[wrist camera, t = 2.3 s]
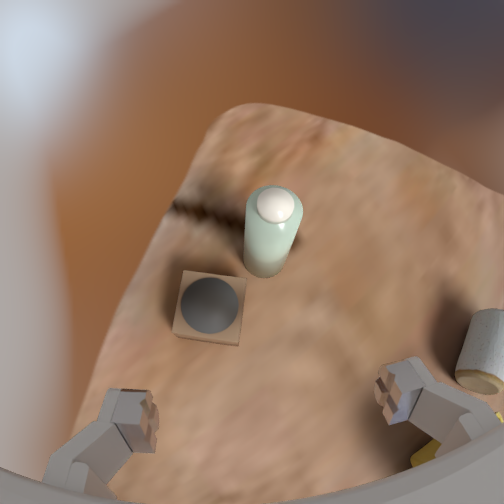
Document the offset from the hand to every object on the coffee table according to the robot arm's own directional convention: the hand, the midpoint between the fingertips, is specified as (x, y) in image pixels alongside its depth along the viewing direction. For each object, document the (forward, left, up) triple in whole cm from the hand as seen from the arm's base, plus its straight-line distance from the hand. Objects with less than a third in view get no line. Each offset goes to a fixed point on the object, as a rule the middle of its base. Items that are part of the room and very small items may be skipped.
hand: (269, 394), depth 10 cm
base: (+7, +4, -19) cm, 21 cm away
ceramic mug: (+3, -28, -20) cm, 34 cm away
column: (+13, 0, -19) cm, 24 cm away
